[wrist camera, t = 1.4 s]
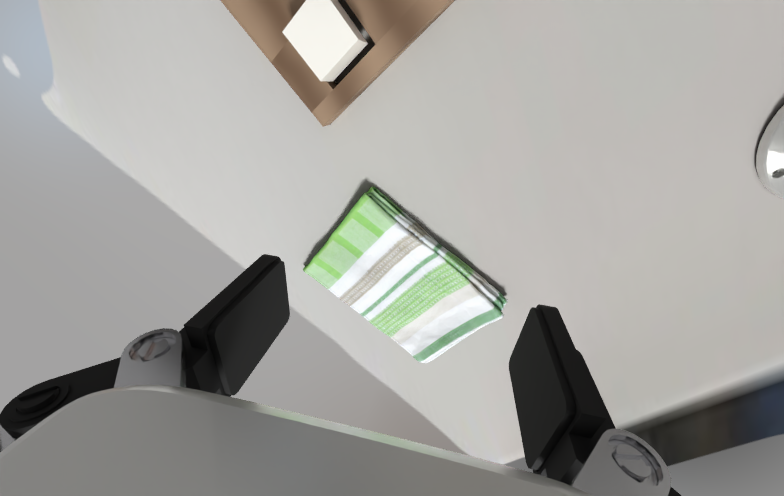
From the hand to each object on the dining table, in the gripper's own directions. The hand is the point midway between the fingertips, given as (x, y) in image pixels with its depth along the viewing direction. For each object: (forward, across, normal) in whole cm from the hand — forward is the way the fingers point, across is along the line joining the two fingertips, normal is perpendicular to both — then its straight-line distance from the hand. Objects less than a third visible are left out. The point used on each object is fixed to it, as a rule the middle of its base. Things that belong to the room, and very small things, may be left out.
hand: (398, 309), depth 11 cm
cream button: (+22, +11, -10) cm, 27 cm away
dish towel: (+25, +2, +17) cm, 30 cm away
